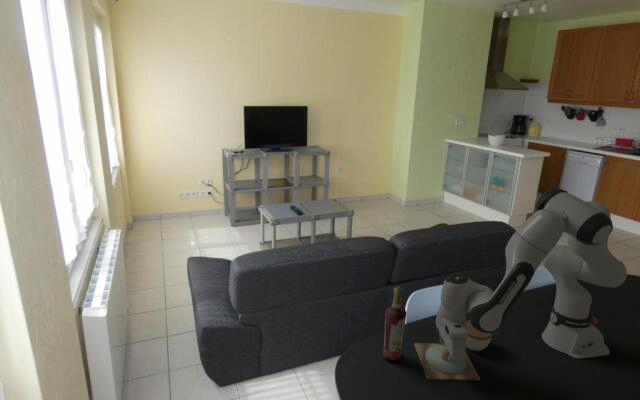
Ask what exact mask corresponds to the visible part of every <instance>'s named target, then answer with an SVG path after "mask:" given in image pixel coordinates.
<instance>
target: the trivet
mask: <svg viewBox="0 0 640 400" xmlns="http://www.w3.org/2000/svg"><path fill="white" fill-rule="evenodd" d="M436 345H442V344H441V343H432V342H431V343H430V342H429V343H427V342H426V343H425V342H424V343H421V342H418V343H417V342H414V347H415V348H414V349H415V350H416V354H417V356H418V358H419V361H420V363H421V366H422V370H423V372H424V376H425V378H426V380H433V381H434V380H435V381H437V380H438V381H481V378H480V376H479V374H478V372H477V370H476V369H475V367H474V365H473V363H472V361H471V360H470V357H469V355H468V354H467V352H466V351H465V355H464V358H465V359H466V368H465V370H464V371H463V372H461V373H458V374H446V373H442V372H440V371H438V370H436V369H434V368H433V367H431V366H430V365H429V364H428V362H427V360H426V357H425V355H426V351H427V349H428V348H430V347H432V346H436ZM443 346H446V345H444V344H443Z"/></svg>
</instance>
